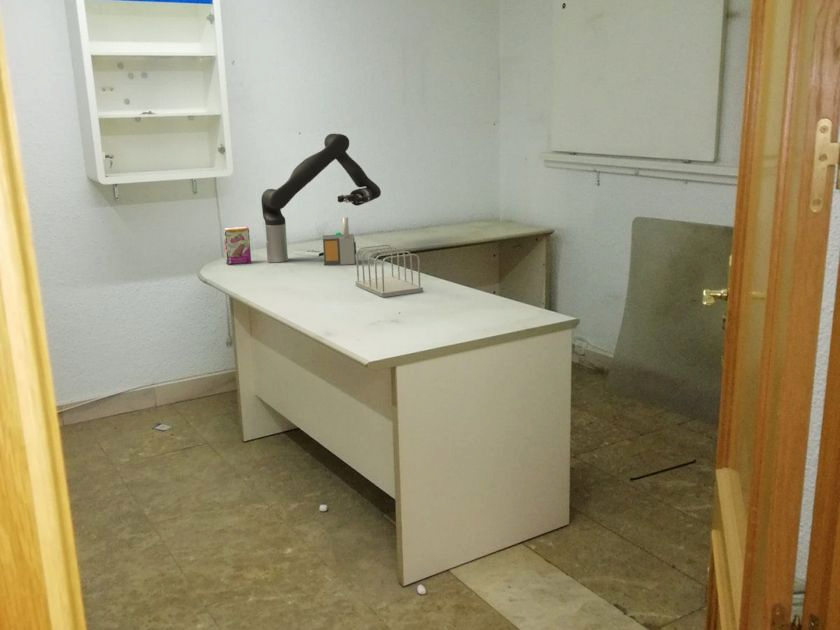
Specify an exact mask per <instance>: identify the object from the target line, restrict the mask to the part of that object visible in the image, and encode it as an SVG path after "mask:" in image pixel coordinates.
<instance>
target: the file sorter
mask: <svg viewBox="0 0 840 630" xmlns="http://www.w3.org/2000/svg"><path fill="white" fill-rule="evenodd" d="M373 248H374V249H373ZM363 249H367V250H365V251H364V252H363V253H362V255H361V266H362V280H360V276H359V272H360V271H359V251H361V250H363ZM395 251H396V252H395ZM368 252H369V255H368V258H367V267H368V279H366V278H365V265H364V264H365V263H364V262H365V261H364V258H365V257H364V256H365V254H366V253H368ZM370 252H371V253H370ZM406 253H407V254H406ZM375 254H379V255H377V256H376V257H375V259H374V273H375V277H374V279H371V277H372V276H371V263H370V262H371V261H370V259H371V257H372V255H375ZM400 254H401V255H400ZM385 256H386V257H385ZM413 256H414V257H416V258H417V269H418V270H417V275H418V276H417V277H418V285H417V284H414V276H413V275H414V274H413V273H414V272H413ZM381 257H385V258H383V260H382V262H381V278H380V277H379V278H378V273H377V272H378V271H377V270H378V269H377V268H378V267H377V261H378V259H379V258H381ZM406 257H409V260H410V277H411V278H410V280H411V282H409V281H407V269H406V268H407V265H406V264H407V263H406ZM394 258H395V259H397V277H395V276H394V260H393V259H394ZM400 258H403V272H404V280H403V279H401V275H400V274H401V273H400ZM388 259H390V261H391V276H389V277H385V276H384V275H385V272H384V263H385V261H386V260H388ZM355 263H356V277H357V281H355V286H356V287H357V288H358V287H359V288H360V289H363V290H365V291H368V292H370V293H371V294H374V295H377V296H379V297H382V298H387V297H388V296H389V297H393V296H403V295H407V294H408V295H409V294H416V292H417V293H423V292H424V290H423V287H422V286H421V264H420V263H421V261H420V257H419V255H418V254H417V253H411V252H410V251H408V250H403V249H402V248H397V247H395V246H391V245H390V244H379V245H378V244H377V245H372V246H371V245H370V246H368V245H367V246H363V247H359V248H357V249H356V254H355ZM389 297H388V298H389Z"/></svg>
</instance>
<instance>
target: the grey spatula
mask: <svg viewBox="0 0 840 630" xmlns="http://www.w3.org/2000/svg"><path fill="white" fill-rule="evenodd" d="M342 228H343V229H342V230H343V233H342V235H344V238H339V244H340V264H343V265H356V258H355V259H354V242H355V236H354V237H349V234H350V232H349V231H350V230H349V228H350V227H349V217H346V216H345V217H344V216H343V217H342Z"/></svg>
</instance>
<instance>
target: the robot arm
mask: <svg viewBox="0 0 840 630" xmlns="http://www.w3.org/2000/svg"><path fill="white" fill-rule="evenodd" d="M323 144H324V148H323V149H322V150H320V151H319V152H316V153H314V154H312V155H310V156H308V157H306V158H305V159H303V161H302V162H300V163H299V164H298V165H297V166H296V167H295V168H294V169H293V171H292V173H291V175H290V177H289V178H288V180H287V181H286V182H285V183H284V184H282V185H281V186H279V187H278V188H277V189H274V188H268V189H266V190H264V191H263V193H262V195H261V200H260V201H261V210H262V217H263V220H264V224H265V235H266V237H265V238H266V241H265V242H266V244H265V245H266V255H267V256H266V257H267V263H283V262H288V261H289V255H288V254H289V252H288V242H287V241H288V239H287V227H286V217H285V216H284V215H283V214H282V211H281V210H282V209H283V208H285V207H286V206H287V205H288V204H289V202H290V201H291V200H292V199H293V198H294V197H295V196H296V195H297V194H298V193H299V192H300V191H301V190H302V189H303V188H305V187H306V186H307V185H308V184H309V183H310V182H312V181H313V180H314V179H315V178H316V177H317V176H318V175H319V174H320V173H321V172H322V171H323V170H325V169H326V168H327V167H328V166H329V165H330V164H331V163H332V162H334V161H335V160H336V161H337V162H338V163H339V165H340V166H341V167H342V168H343V169H344V170H345V172H346V173H347V175H348V176H349V177H350V179H351V180H352V182H353V183H354V184H355V186H356V187H357V189H354V190H352V191H351V192H350V193H349V194H344V195H343V194H341V195H337V202H338V203H351V204H352V205H354V206H361V205H365V204H367V203H369V202H371V201H374V200H376V199H377V198H380V197H381V194H382V191H381V190H382V189H381V188H380V187H379V186H378V185H377V184H376V183H375V182H374V181H372V179H371V178H369V177H368V176H367V174H366V173H365V171H364V170H363V168H362V167H361V166H360V165H359V163H357V162H356V161H355V160H354V159H353V158H352V157H351V156H350V155H349V154H348V152H347V150H348V149H349V148H350V147H349V146H350V139H349V137H347V135H344V134H342V133H329V134H327V135H326V137H325V138H324V143H323Z"/></svg>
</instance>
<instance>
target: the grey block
mask: <svg viewBox="0 0 840 630" xmlns="http://www.w3.org/2000/svg"><path fill="white" fill-rule="evenodd" d="M349 237H354V238H355V235H354V233H349ZM339 238H344V234H342V235H334V234H327V235H322V242H323V243H322V246H323V261H324V266H337V265H339V266H340V265H341V264H340V244H339ZM356 245H357V244H356V241H354V259H355V260H356V252H357V246H356Z"/></svg>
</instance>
